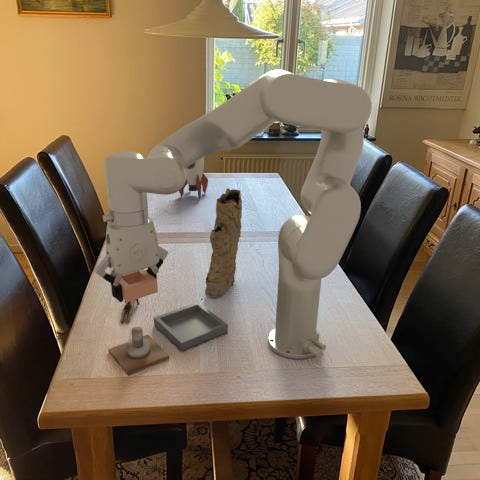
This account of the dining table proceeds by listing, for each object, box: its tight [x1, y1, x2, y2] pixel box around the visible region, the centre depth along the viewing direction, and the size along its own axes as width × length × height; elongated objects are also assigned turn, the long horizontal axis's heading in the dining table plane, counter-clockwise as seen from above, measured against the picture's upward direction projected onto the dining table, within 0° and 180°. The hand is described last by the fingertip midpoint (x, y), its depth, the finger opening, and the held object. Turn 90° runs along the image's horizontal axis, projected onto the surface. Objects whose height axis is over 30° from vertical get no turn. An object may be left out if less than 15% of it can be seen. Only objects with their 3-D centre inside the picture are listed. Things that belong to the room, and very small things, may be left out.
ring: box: [120, 269, 159, 302], centre depth 104 cm, size 7×7×3 cm
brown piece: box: [108, 326, 170, 377], centre depth 110 cm, size 10×10×7 cm
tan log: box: [204, 188, 243, 299], centre depth 132 cm, size 14×10×30 cm
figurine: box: [120, 299, 140, 324], centre depth 129 cm, size 4×4×15 cm
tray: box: [153, 301, 229, 353], centre depth 121 cm, size 13×13×3 cm
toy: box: [178, 156, 209, 200], centre depth 211 cm, size 11×11×30 cm
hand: (135, 293), depth 105 cm, fingers closed on ring, 7 cm apart
